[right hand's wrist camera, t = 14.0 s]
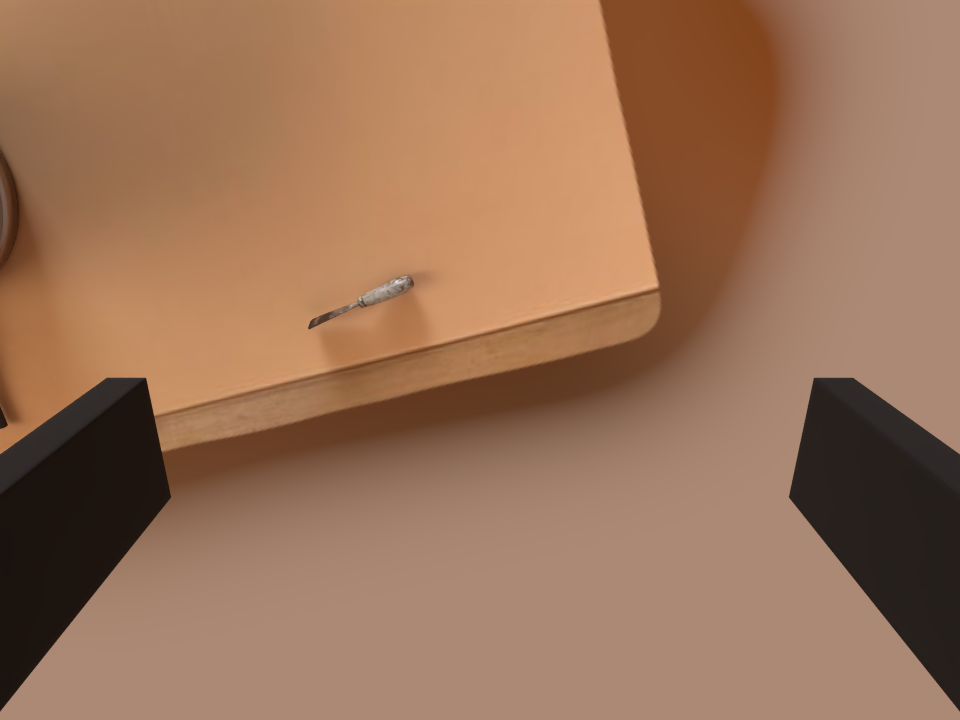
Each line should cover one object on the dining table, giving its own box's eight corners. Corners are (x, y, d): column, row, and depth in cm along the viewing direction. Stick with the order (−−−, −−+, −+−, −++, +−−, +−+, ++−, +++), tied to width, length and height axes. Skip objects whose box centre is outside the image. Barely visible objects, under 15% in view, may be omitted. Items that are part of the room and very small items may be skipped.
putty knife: (416, 284, 44) (414, 290, 43) (316, 329, 45) (310, 337, 44) (409, 271, 44) (407, 277, 42) (309, 316, 45) (303, 324, 44)
